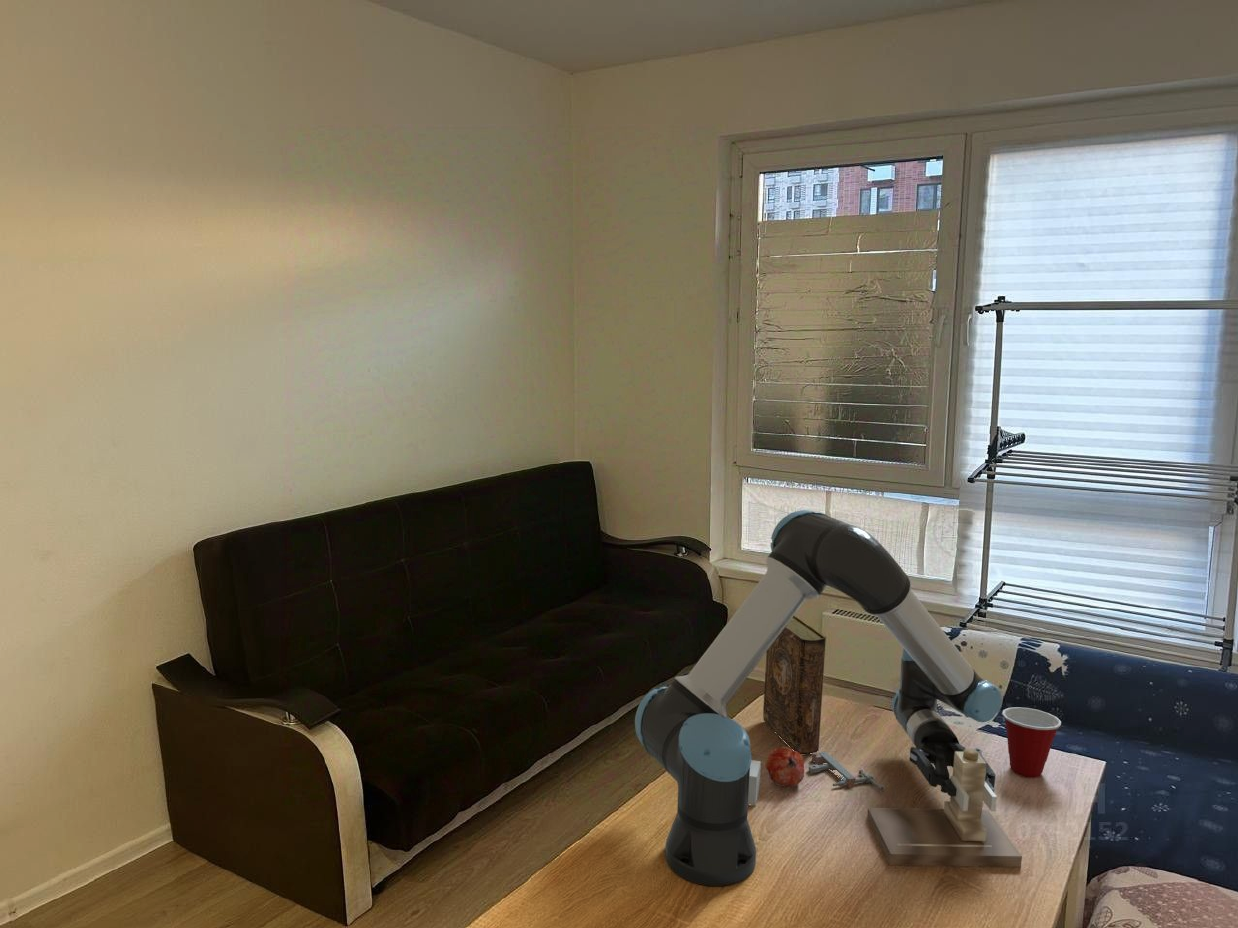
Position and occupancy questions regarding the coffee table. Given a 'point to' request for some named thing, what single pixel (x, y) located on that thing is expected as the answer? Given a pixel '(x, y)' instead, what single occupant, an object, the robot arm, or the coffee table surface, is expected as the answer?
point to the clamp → (834, 765)
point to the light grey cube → (754, 781)
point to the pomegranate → (785, 766)
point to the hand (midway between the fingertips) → (979, 803)
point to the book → (795, 685)
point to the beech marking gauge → (972, 779)
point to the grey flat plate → (938, 839)
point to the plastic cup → (1029, 739)
